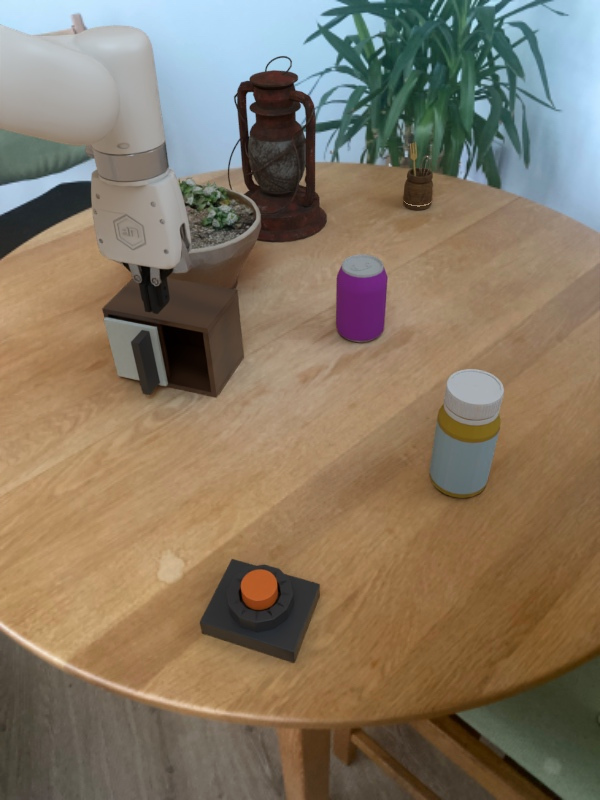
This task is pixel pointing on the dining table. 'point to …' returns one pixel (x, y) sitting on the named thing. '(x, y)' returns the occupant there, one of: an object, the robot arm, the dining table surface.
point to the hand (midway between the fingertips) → (157, 307)
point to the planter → (218, 233)
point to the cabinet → (190, 332)
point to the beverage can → (361, 298)
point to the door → (137, 353)
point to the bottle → (466, 433)
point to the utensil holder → (418, 184)
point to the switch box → (261, 613)
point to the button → (259, 589)
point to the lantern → (279, 156)
